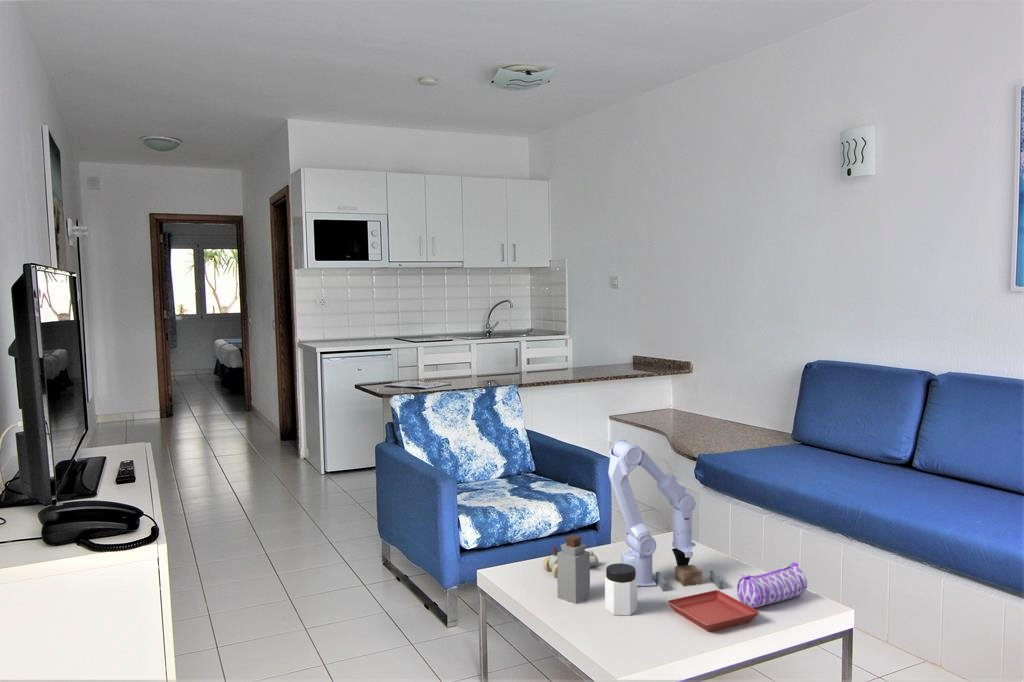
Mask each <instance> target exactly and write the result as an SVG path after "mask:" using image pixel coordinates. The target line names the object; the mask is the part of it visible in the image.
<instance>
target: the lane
mask: <svg viewBox="0 0 1024 682" xmlns="http://www.w3.org/2000/svg"><path fill="white" fill-rule="evenodd" d="M709 579H710V580H711V581H712V582H713V584H714V585H715V586H716V587H717V589H718V590H723V580H722V579H721V578H720V576H719V575H718V574H717V573H716V572H715V570H714V569H710V570H709ZM655 581H656V583H657V582H658V583H657V584H658V586H659V585H660V586H659V587H660V589H661V591H662V592H667V582H666V580H665V579H664V577H663V576H662V574H661V572H660V571H656V572H655Z"/></svg>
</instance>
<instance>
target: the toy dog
mask: <svg viewBox="0 0 1024 682" xmlns="http://www.w3.org/2000/svg"><path fill="white" fill-rule="evenodd" d="M558 552H559V551H558V550H557V547H556V546H552V554H553V555H551V556H547V557H545V559H544V561H543V568H544V569H545V571H548V572H551V574H552V576H553V577H554V578H557V553H558ZM588 552H590V567H591V568H594V567H597V566H598V564H599V558H598V556H597V555H596V554H594V551H593V550H589V551H588Z"/></svg>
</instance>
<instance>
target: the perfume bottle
mask: <svg viewBox="0 0 1024 682" xmlns="http://www.w3.org/2000/svg"><path fill="white" fill-rule="evenodd" d="M586 547H587V544H585V543H582V537H581V536H578V535H574V534H571V535H568V536H566V537H565V543H562V544H560V548H561V550H560V551H557V552H558V553H557V579H556V580H557V599H560V600H564V601H566V602H569V603H572V604H574V605H575V604H576V605H577V604H578V603H581V602H582V601H584V600H587V599H588V598H590V597H591V573H590V572H591V568H590V552H589V551H587V550H586Z"/></svg>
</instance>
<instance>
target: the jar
mask: <svg viewBox="0 0 1024 682" xmlns="http://www.w3.org/2000/svg"><path fill="white" fill-rule="evenodd" d="M605 571H606V572H605V573H606V576H605V577H604V609H605V610H606V611H607V612H608V613H610V614H611V615H613V616H621V617H622V616H626V617H627V616H629V617H630V616H631V615H633V614H634V613H635V612H636V611H637V610H638V586H637V578H636V577H635V576H636V572H635V568H634V567H633V566H631V565H628V564H621V562H619V563H612V564H609V565H607V567H606V570H605Z"/></svg>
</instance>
